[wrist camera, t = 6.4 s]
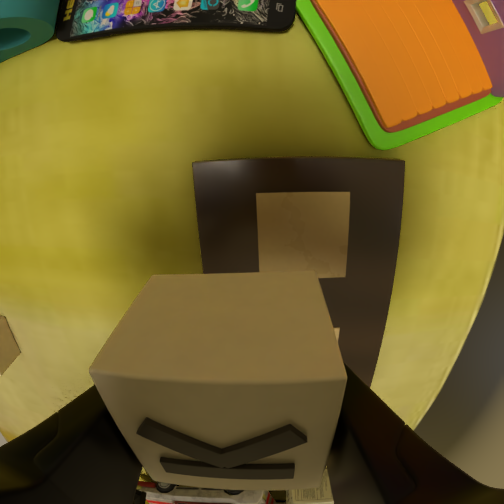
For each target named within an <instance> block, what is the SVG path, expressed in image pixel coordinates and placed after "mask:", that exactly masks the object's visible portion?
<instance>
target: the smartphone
mask: <svg viewBox="0 0 504 504" xmlns="http://www.w3.org/2000/svg"><path fill="white" fill-rule="evenodd" d="M295 2H296V0H63V2H62V6H61V10H60V14H59V18H58V23H57V28H56V36H57V38H58V39H59V40H61V41H63V42H70V41H77V40H87V39H93V38H98V37H105V36H110V35H114V34H122V33H130V32H140V31H151V30H166V29H237V30H254V31H269V32H282V31H285V30H287V29H288V28H289V27H290V26H291V25H292V23H293V21H294V18H295V12H296V3H295Z"/></svg>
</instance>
